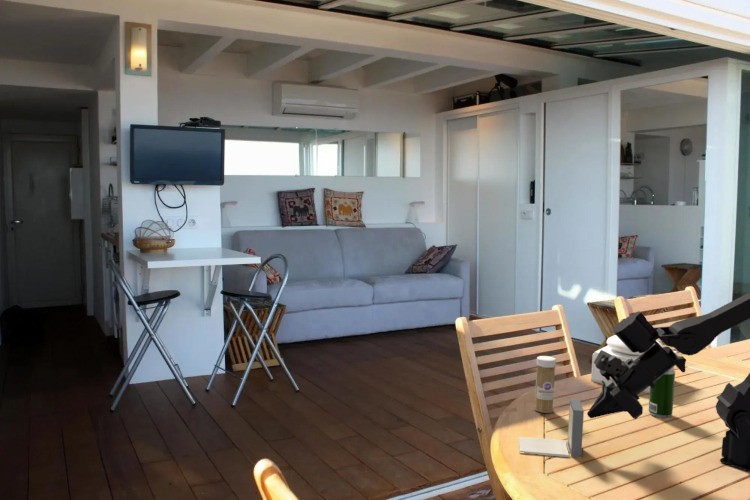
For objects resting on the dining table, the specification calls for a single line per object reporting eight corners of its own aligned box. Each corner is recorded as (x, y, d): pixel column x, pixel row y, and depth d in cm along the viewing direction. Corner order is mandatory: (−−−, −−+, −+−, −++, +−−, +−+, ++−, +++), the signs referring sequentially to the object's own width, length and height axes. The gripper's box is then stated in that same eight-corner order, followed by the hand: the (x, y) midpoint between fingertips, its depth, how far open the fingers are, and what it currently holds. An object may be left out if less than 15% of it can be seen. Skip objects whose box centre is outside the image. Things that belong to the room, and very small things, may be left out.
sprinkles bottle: (540, 414, 165) (543, 360, 164) (530, 408, 169) (533, 355, 168) (557, 412, 166) (559, 359, 165) (547, 406, 171) (549, 354, 169)
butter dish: (612, 369, 206) (616, 317, 205) (675, 381, 195) (678, 327, 193) (590, 381, 193) (593, 327, 191) (655, 395, 182) (659, 337, 180)
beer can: (663, 420, 163) (666, 371, 162) (643, 413, 167) (646, 365, 166) (676, 416, 166) (680, 368, 164) (657, 409, 170) (660, 362, 169)
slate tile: (576, 444, 147) (579, 399, 146) (581, 457, 140) (583, 410, 139) (567, 443, 147) (569, 399, 146) (570, 456, 141) (573, 410, 140)
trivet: (564, 442, 148) (564, 440, 148) (568, 457, 140) (569, 455, 140) (518, 438, 150) (518, 436, 150) (519, 453, 142) (519, 450, 142)
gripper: (612, 329, 149) (557, 375, 152) (629, 351, 131) (567, 402, 134) (647, 367, 149) (592, 411, 152) (669, 393, 130) (606, 444, 133)
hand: (588, 416), depth 143 cm, fingers closed
